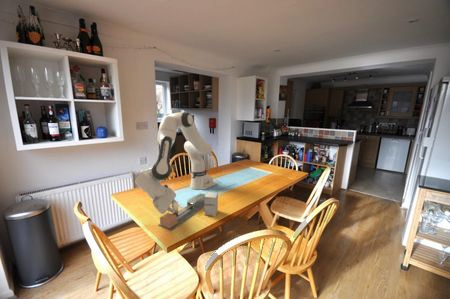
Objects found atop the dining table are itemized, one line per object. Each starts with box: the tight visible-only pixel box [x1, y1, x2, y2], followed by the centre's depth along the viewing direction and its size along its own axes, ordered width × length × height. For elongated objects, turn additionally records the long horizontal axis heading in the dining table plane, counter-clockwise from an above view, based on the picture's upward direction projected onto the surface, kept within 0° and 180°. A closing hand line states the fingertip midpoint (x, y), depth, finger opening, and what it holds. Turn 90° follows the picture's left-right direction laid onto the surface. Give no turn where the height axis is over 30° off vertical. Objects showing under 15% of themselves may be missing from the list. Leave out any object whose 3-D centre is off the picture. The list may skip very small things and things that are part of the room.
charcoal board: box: [158, 203, 205, 232], centre depth 125 cm, size 37×10×1 cm, turn 150°
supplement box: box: [204, 191, 219, 217], centre depth 125 cm, size 7×7×13 cm
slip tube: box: [171, 200, 193, 217], centre depth 120 cm, size 21×4×10 cm, turn 150°
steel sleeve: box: [186, 193, 206, 211], centre depth 133 cm, size 14×5×5 cm, turn 150°
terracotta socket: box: [159, 212, 178, 228], centre depth 112 cm, size 6×8×5 cm
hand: (176, 209), depth 115 cm, fingers open, 5 cm apart
